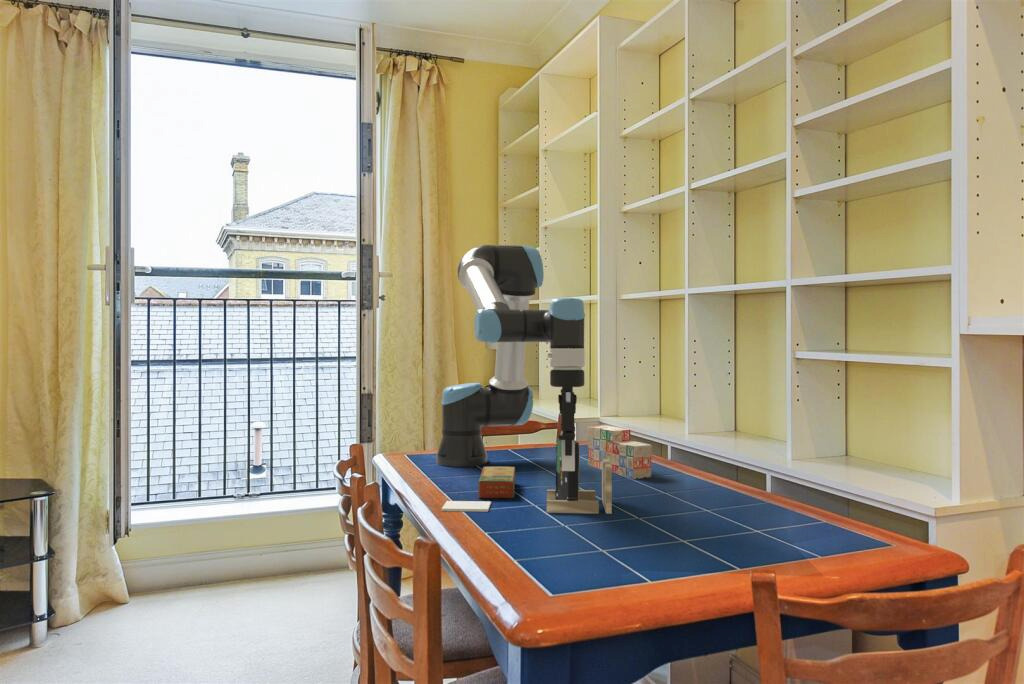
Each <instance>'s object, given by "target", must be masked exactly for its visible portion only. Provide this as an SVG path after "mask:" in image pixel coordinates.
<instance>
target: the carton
mask: <svg viewBox="0 0 1024 684" xmlns="http://www.w3.org/2000/svg"><path fill="white" fill-rule="evenodd" d="M515 484H516V467H515V466H483V467H482V470H481V473H480V477H479V479H478V492H477V495H478V497H477V498H478V499H514V498H515V487H516V486H515Z"/></svg>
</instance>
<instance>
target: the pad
mask: <svg viewBox="0 0 1024 684" xmlns="http://www.w3.org/2000/svg"><path fill="white" fill-rule="evenodd" d="M491 505H492V501H489V500H487V501H483V500H482V501H478V500H477V501H475V500H471V501H469V500H446V502H445V503H444V504H443V506H442V507H441V512H472V513H473V512H477V513H478V512H483V513H486V512H487V513H488V512H489V511H490V507H491Z"/></svg>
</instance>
